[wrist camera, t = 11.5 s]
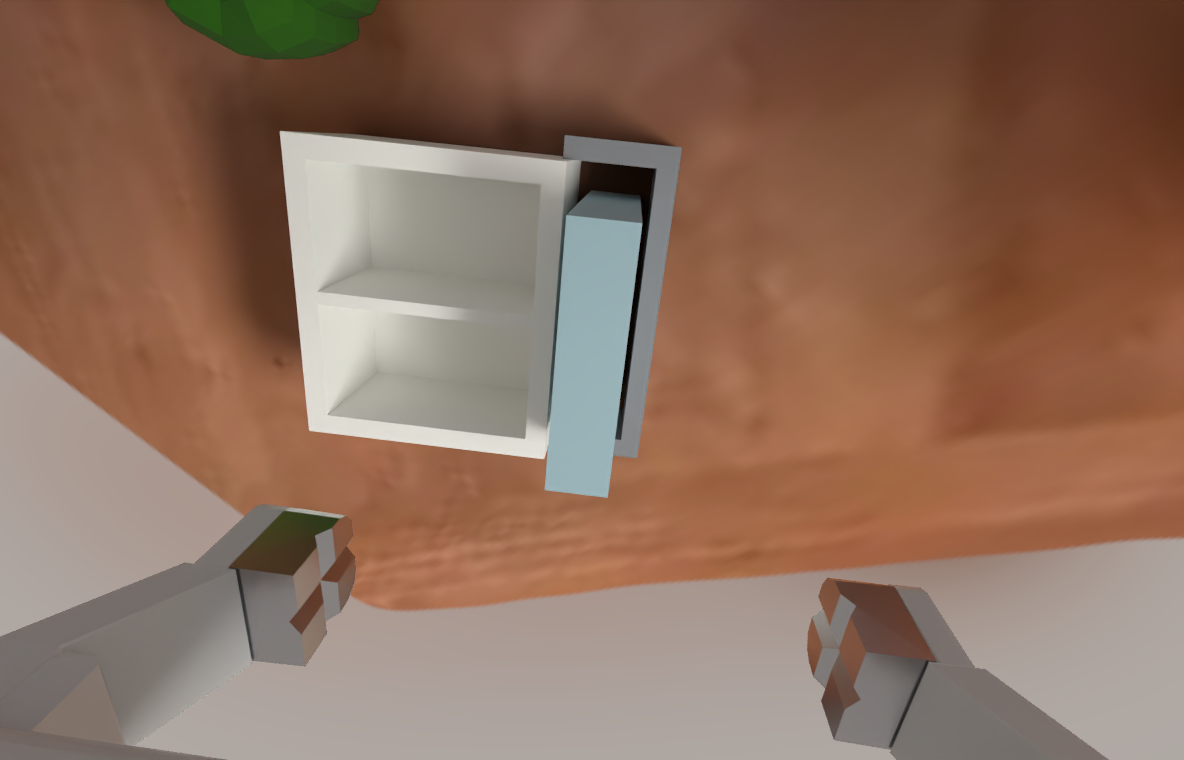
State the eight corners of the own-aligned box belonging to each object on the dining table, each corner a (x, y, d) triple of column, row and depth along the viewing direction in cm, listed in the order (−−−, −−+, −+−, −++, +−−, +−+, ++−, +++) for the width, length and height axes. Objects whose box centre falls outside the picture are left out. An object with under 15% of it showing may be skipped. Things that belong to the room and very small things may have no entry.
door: (640, 195, 31) (642, 223, 20) (616, 385, 35) (607, 497, 24) (591, 190, 31) (566, 215, 20) (573, 380, 35) (544, 489, 24)
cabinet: (676, 147, 30) (687, 147, 23) (636, 425, 36) (637, 487, 29) (354, 113, 30) (277, 104, 24) (369, 393, 36) (310, 447, 30)
